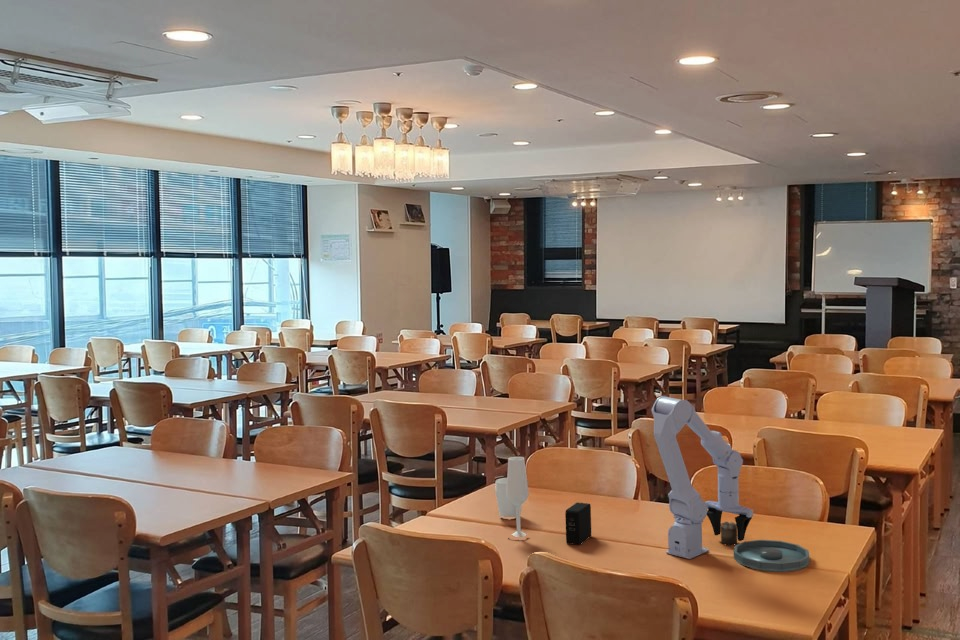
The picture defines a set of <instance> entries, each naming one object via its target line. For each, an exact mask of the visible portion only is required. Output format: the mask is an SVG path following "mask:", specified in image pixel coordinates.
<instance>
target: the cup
mask: <svg viewBox="0 0 960 640" xmlns="http://www.w3.org/2000/svg"><path fill="white" fill-rule="evenodd" d="M494 486H495V488H494V491H495V498H496V503H497V508H498V513H499V516H500V515H501V516H504V517H516V506H515V505H514V504H513V503H511V502H510V501H509V499H508V498H507V496H506V491H507V477H502V478H498V479H496V480H495V485H494ZM522 505H523V504H522ZM522 505H520V515H522Z"/></svg>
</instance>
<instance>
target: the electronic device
mask: <svg viewBox="0 0 960 640" xmlns="http://www.w3.org/2000/svg"><path fill="white" fill-rule="evenodd" d="M591 509H592V507H591V503H588V502H575V503H574V504H572V505H571V506H570V507H568V508H567V509H565V513H564V514H565V541H566V542H565V543H566V544H568V543H573V544H572V545H576V544H579V545H578V546H581V545H582V544H583V543H585V542H586V541H587V540H588V539H589V538H588V537H590V536H591V537H592V514H591V513H592V512H591V511H592V510H591ZM591 537H590V538H591ZM587 538H588V539H587ZM586 539H587V540H586ZM585 540H586V541H585ZM584 541H585V542H584ZM582 542H583V543H582ZM581 543H582V544H581ZM580 544H581V545H580Z"/></svg>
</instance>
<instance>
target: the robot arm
mask: <svg viewBox="0 0 960 640" xmlns="http://www.w3.org/2000/svg"><path fill="white" fill-rule="evenodd" d="M651 414H652V417H653V437H654V441H655V443H656V446H657V449H658V452H659V454H660V458H661V461H662V464H663V466H664V470H665V473H666V475H667V479H668V481H669V484H670V488H671V490H670V491H669V492H668V494H667V496H668V501H669V504H668V508H669V510H670V513H672V514H673V519H674V523H673V524H672V525H671V526H670V527H669V529H668V531H667V539H668V540H667V542H668V546H667V547H668V550H666V551H665V553H666V554H668V555H673V556H677V557H681V558H684V559H689V560H691V559H693V558H696V557H697V556H700V555H703V554H705V553H707V552H709V548H705V547H703V529H702V527H703V526H702V525H703V524H702V523H704V520H705V518H706V517H708V520H709V522H710V524H711V527H712V530H713V534H714V536H720V535H721V524H722V515H723V512H725V513H728V514H729V513H730V514H735V515H738V516H735V517H734V521H735V524H736V525H737V542H738V541H739V542H741V541H743V540H745V535H746V531H747V528H748V526H749V524H750V522H751V520H752V518H753V517H754V509H752V508H749V507H745V506H743V505H741V504H740V500H739V499H740V495H739V494H740V493H739V491H740V488H739V487H740V486H739V476H740V474H741V468H742V466H743V464H744V459H743V458H742V455H741V454H740V452H739V451H737V450H736V449H735V450H734V449H732V445H731V444H730V443H729V442H728V443H727V441H726V440H725V439H724V438H723V434H722V433H721V432H720V431H716V430H710V428H709V426H707V424H706V423H705V422H704V420H703V419H702V418H701V417H700V416H699V414H698V413H697V412H696V408H695V406H693V405H692V404H691V402H690V401H689V400H686V399H679V398H675V397H669V396H666V395H661V396H659V397H657V399H656V400H655V401H654V403H653V406H652V407H651ZM685 425H686V426H688V428H689V429H691V430H692V432H693V433H695V435H697V437H699V438H700V445H701V446H702V448H703V449H704V450H705V451H706V452H707V453H708V454H709V455H710V456H711V458H712V463H713V464H714V465H715V466H716V467H717V500H718V501H714V500H707V501H704V500H703V498H702V496H701V494H700V493H699V492H698V491H697V490H696V489H695V487H693V485H692V482H691V479H690V476H689V473H688V470H687V467H686V464H685V461H684V458H683V454H682V452H681V449H680V445H679V443H678V441H677V440H678V439H677V437H676V436H677V434H679V433H680V431H682V429H683V428H684V427H685Z"/></svg>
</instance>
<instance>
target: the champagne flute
mask: <svg viewBox="0 0 960 640" xmlns="http://www.w3.org/2000/svg"><path fill="white" fill-rule="evenodd" d="M506 475H507V477H506V478H507V491H506V496H507V498H508V499H509V501H510V502H511V503H513V504H514V505H515V506H516V520H515V521H516V522H515V523H516V531H515V532H513V533H512V534H511V535H513V536H515V537H524V536H526V533H525V532H523V531H522V530H521V529H522V528H521V516H520V505H523V504H524V503H526V501H527V499H528V498H529V496H530V494H529V493H530V492H529V485H528V477H527V470H526V461H525V457H523V456H511V457H508V460H507V474H506Z"/></svg>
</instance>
